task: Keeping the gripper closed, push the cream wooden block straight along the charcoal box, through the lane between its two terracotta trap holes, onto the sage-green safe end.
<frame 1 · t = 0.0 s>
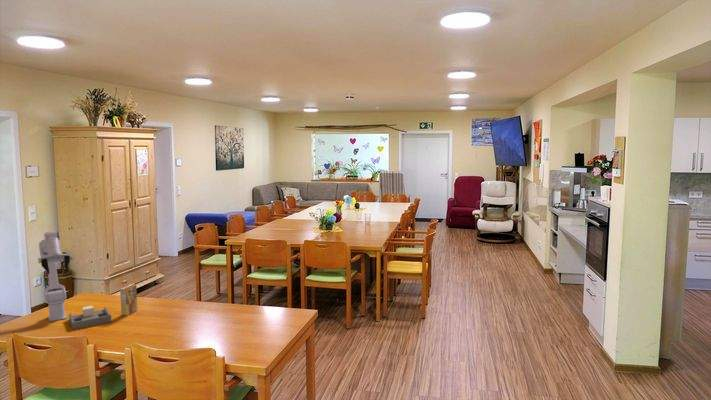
hand: (57, 271, 244), 32 cm above the table, fingers open, 7 cm apart
trap box: (90, 320, 267), on the table
cream block: (88, 314, 270), point 2 cm above the table, touching trap box
candy box: (129, 313, 278), on the table
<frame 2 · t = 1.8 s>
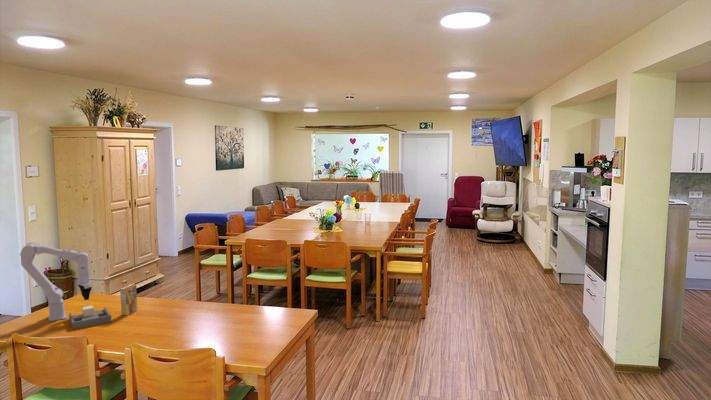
hand: (85, 298, 275), 9 cm above the table, fingers open, 7 cm apart
nothing on the table moved.
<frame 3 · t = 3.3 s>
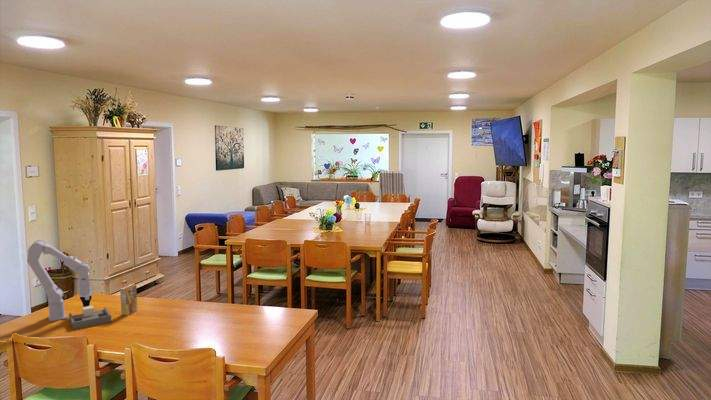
hand: (86, 309, 276), 3 cm above the table, fingers closed
nothing on the table moved.
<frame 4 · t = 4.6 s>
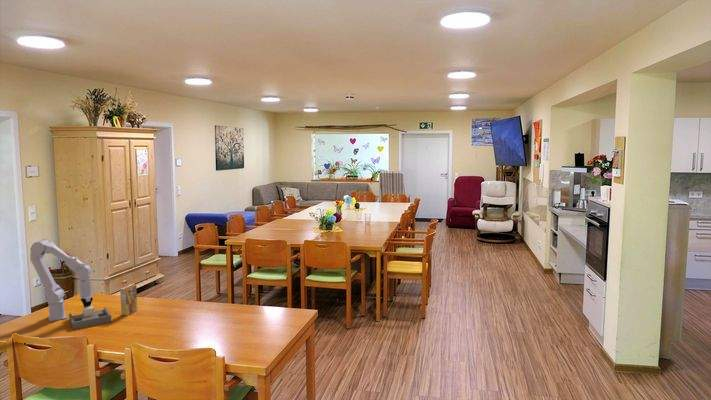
hand: (87, 310, 273), 3 cm above the table, fingers closed
cream block: (88, 314, 270), point 2 cm above the table, touching gripper
everything else where it was.
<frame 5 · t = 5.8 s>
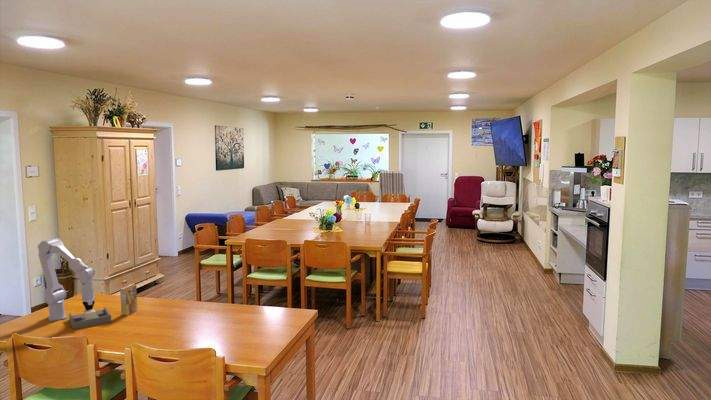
hand: (89, 314, 267), 3 cm above the table, fingers closed
cream block: (90, 318, 264), point 2 cm above the table, touching gripper, trap box
everything else where it was.
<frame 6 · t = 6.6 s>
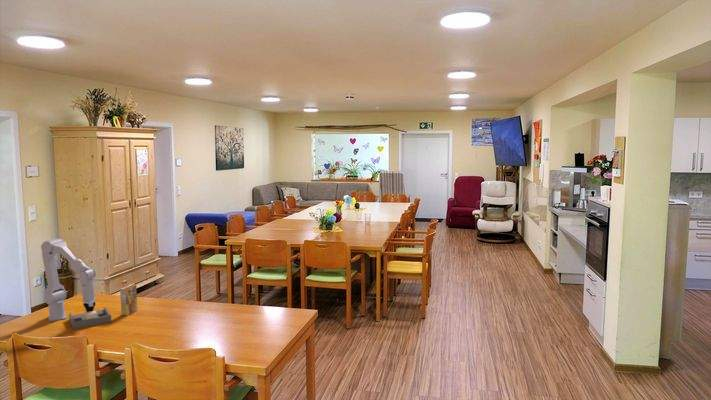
hand: (90, 315, 265), 3 cm above the table, fingers closed
cream block: (91, 319, 262), point 2 cm above the table, touching gripper, trap box
everything else where it was.
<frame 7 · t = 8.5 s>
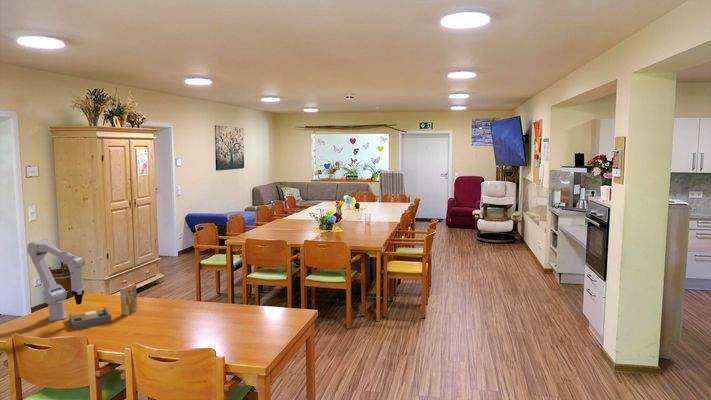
hand: (78, 304, 265), 9 cm above the table, fingers closed
cream block: (91, 319, 262), point 2 cm above the table, touching trap box
everything else where it was.
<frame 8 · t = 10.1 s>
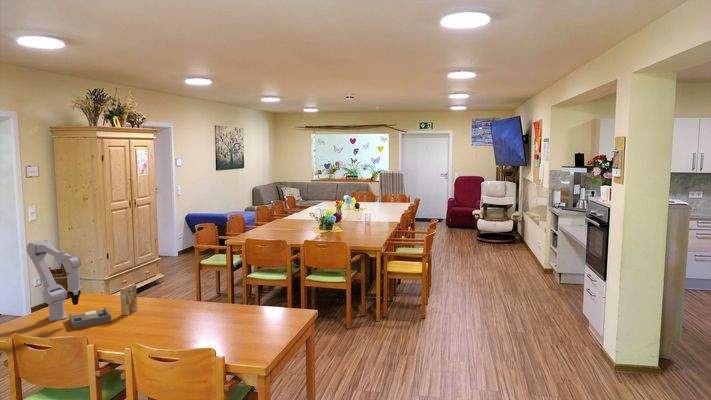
hand: (75, 304, 264), 9 cm above the table, fingers closed
nothing on the table moved.
at the end: cream block 0.3 cm from the target spot on the trap box, point 2.0 cm above the trap box's base; cream block tilted 0° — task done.
